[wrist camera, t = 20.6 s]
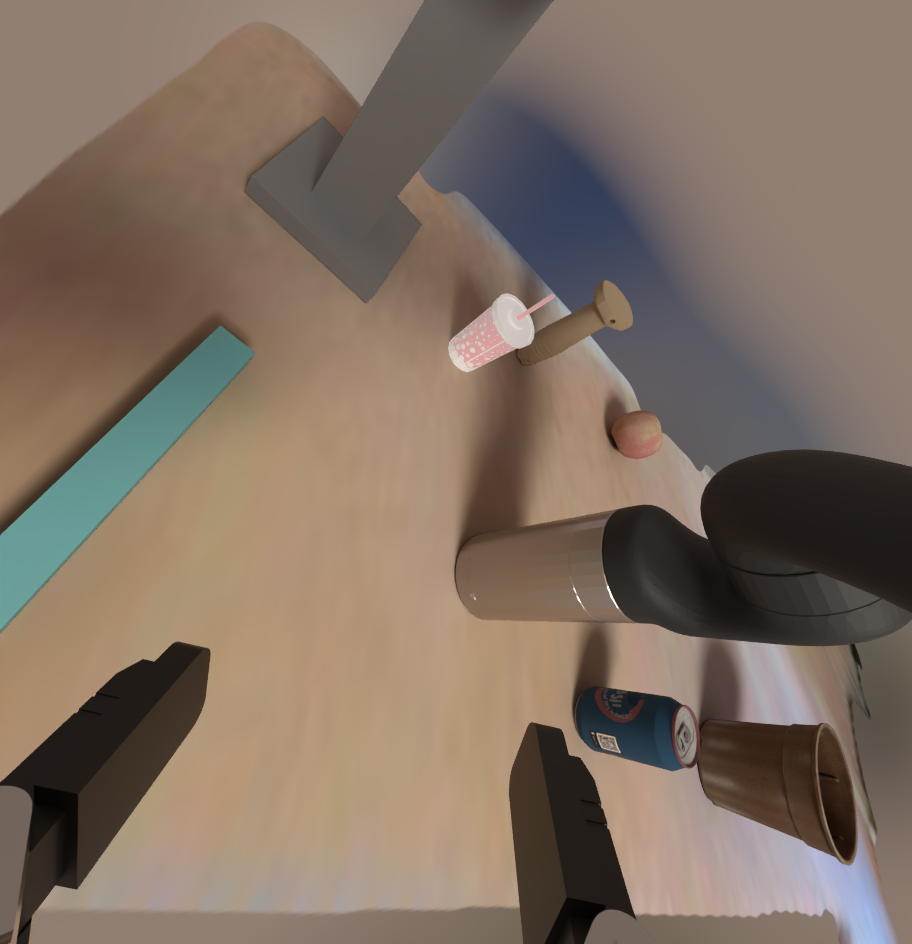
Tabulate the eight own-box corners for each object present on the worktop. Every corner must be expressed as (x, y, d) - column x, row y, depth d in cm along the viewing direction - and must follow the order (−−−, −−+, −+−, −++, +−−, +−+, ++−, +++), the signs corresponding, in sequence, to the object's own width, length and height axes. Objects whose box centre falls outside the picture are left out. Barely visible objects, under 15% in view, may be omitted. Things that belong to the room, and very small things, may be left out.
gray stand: (315, 131, 47) (557, -332, 24) (412, 234, 54) (677, -54, 30) (219, 213, 38) (461, -416, 15) (349, 327, 44) (664, 12, 21)
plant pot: (711, 848, 65) (852, 900, 54) (679, 738, 67) (810, 766, 55) (740, 781, 76) (863, 811, 65) (713, 688, 78) (828, 702, 66)
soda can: (591, 673, 56) (687, 685, 48) (609, 723, 57) (708, 744, 48) (563, 707, 52) (664, 727, 43) (584, 762, 52) (689, 793, 43)
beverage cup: (485, 354, 57) (575, 298, 47) (473, 387, 54) (566, 335, 44) (452, 321, 55) (540, 255, 45) (437, 354, 52) (528, 291, 41)
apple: (622, 473, 74) (669, 461, 69) (598, 444, 71) (645, 429, 65) (629, 439, 79) (673, 426, 73) (606, 411, 76) (651, 394, 70)
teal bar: (210, 342, 35) (220, 325, 33) (244, 368, 37) (255, 353, 34) (-128, 670, 21) (-149, 677, 19) (-55, 693, 23) (-67, 702, 20)
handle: (536, 381, 64) (633, 333, 53) (505, 358, 60) (603, 302, 49) (538, 355, 66) (632, 304, 55) (509, 331, 62) (603, 272, 51)
